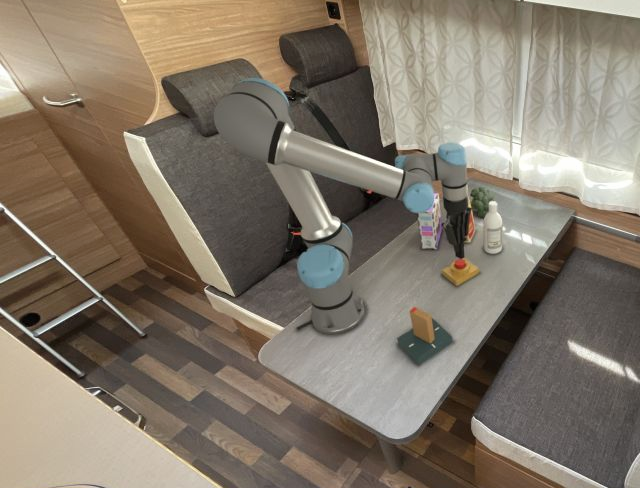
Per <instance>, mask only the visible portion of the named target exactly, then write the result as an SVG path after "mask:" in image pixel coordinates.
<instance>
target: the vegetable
mask: <svg viewBox="0 0 640 488" xmlns="http://www.w3.org/2000/svg"><path fill="white" fill-rule="evenodd" d="M470 191H471V192H470V195H469V197H471V198H472V199H471V200H470V204H471V208H472V210H475V211H477V216H478V217H480V218H483V219H484V218H485V216H486V214H487V213H488V212H489V202H491V201H495V197H494V194H493V193H492V191H490V189H489V190H488V189H487V188H486V187H484V186H480V187H478V188H477V187H476V188H472V190H470Z"/></svg>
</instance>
